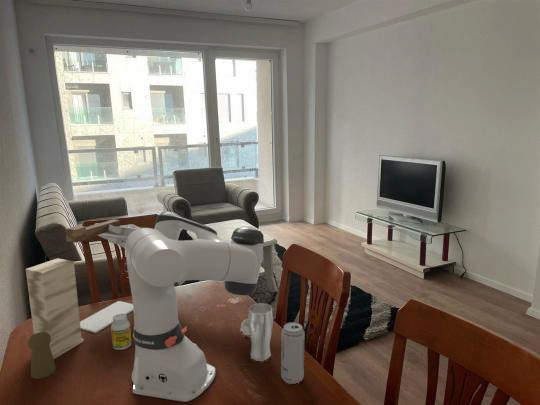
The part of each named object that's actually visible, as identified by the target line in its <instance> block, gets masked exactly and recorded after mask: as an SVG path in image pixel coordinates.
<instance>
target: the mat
mask: <svg viewBox="0 0 540 405" xmlns="http://www.w3.org/2000/svg"><path fill="white" fill-rule="evenodd" d="M132 312H134V311H133V303H129V302H126V301H121V300H118V301H116V302H114V303H111V304H110V305H108V306H107V307H106V306H105V308H103V309H101V310H99V311H97V312H95V313H94V314H92V315H90V316H87V317H86V318H85V319H82V320H80V328H81V330H83V331H86V332H90V333H94V334H98V333H99V332H100V331H102V330H103V329H105V328H107V327H109V326H110V325H112V324H113V317H114V316H115V315H117V314H126V315H127V316H128V315H129V314H131V313H132Z"/></svg>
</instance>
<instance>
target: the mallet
mask: <svg viewBox="0 0 540 405" xmlns="http://www.w3.org/2000/svg"><path fill="white" fill-rule="evenodd" d="M94 224H95V223H94ZM94 224H92V225H89V226H83V225H82V226H81V225H74V226H70V227H66V228H64V229H65V236H66V237H65V239H66V242H70V243H79V242H82V241H85V240H88V239H89V238H93V237H96V236H98V235H100V234H103V233H106V232H109V230H107V229H106V228H107V225H113V226H116V227H118V226H121V222H120V220H119V219H109V220H107V221H103V222H100V223H99V224H95V225H94Z"/></svg>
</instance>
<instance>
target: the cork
mask: <svg viewBox="0 0 540 405" xmlns="http://www.w3.org/2000/svg"><path fill="white" fill-rule="evenodd" d="M50 342H51V336H50V335H49V334H48V333H47V332H39V333H36V334H34V333H33V334H32V335H31V336H30V337H29V339H28V341H27V344H28V347H29V348H30V349H31V356H30V359H31V360H30V377H31V378H32V379H34V380H35V379H38V380H40V379H44V378H48V377H49V376H51V375H52V374H54V373H55V372H56V370H57V367H56V363H55V359H53V356H52V352H51V349H50V345H49V344H50Z"/></svg>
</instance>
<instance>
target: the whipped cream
mask: <svg viewBox="0 0 540 405" xmlns="http://www.w3.org/2000/svg"><path fill="white" fill-rule="evenodd" d="M248 319H249V317H247V318H246V319H244V320H243V321H242V322H241V324H240V332H241V331H242V332H243V334H245V335H250V332H249V324H248Z"/></svg>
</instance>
